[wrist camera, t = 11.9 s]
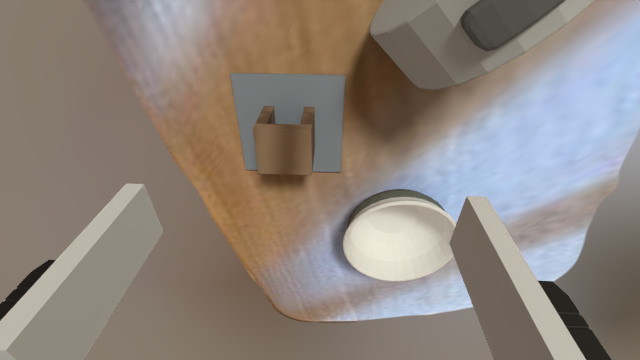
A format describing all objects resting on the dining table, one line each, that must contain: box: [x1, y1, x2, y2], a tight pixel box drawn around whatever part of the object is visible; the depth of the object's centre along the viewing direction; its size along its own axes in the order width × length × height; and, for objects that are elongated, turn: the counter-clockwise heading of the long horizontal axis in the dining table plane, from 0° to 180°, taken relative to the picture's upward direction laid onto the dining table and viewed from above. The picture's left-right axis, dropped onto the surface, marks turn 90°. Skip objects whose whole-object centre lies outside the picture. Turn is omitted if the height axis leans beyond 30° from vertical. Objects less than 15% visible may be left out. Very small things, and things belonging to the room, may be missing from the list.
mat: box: [230, 73, 345, 172], centre depth 48 cm, size 16×16×1 cm
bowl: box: [343, 189, 456, 281], centre depth 54 cm, size 19×19×8 cm
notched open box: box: [253, 106, 315, 175], centre depth 45 cm, size 8×7×8 cm
